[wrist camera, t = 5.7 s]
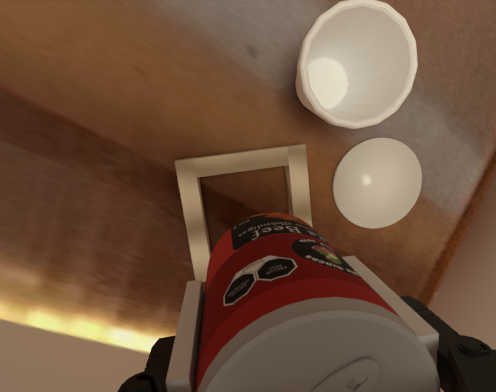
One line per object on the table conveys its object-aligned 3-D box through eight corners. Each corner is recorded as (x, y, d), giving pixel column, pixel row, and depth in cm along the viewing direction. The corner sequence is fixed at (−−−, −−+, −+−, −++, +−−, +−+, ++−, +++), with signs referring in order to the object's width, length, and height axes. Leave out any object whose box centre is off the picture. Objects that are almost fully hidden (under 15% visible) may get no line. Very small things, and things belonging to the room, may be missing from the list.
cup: (382, 85, 33) (442, 65, 24) (319, 148, 34) (355, 153, 25) (324, 14, 31) (366, -35, 22) (259, 84, 32) (274, 64, 23)
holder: (177, 159, 33) (174, 161, 30) (299, 143, 34) (305, 144, 31) (197, 272, 36) (196, 283, 33) (308, 255, 37) (315, 264, 34)
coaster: (329, 144, 34) (330, 144, 33) (418, 132, 35) (422, 132, 34) (334, 232, 36) (336, 234, 36) (418, 220, 37) (421, 221, 36)
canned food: (342, 232, 19) (491, 354, 9) (291, 331, 21) (366, 544, 10) (237, 189, 18) (261, 269, 7) (189, 297, 19) (151, 499, 9)
